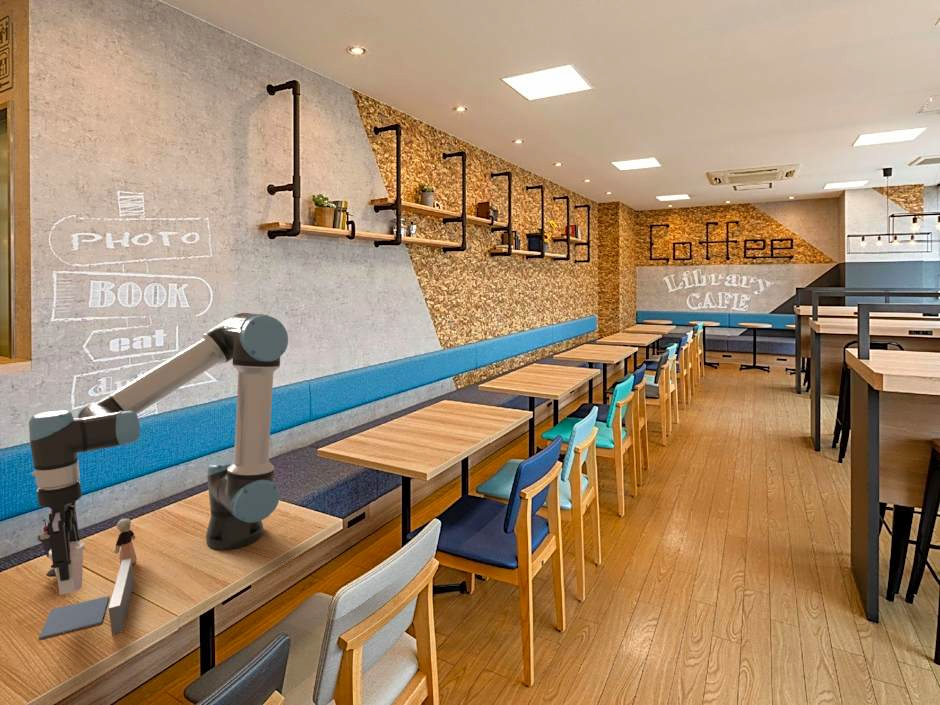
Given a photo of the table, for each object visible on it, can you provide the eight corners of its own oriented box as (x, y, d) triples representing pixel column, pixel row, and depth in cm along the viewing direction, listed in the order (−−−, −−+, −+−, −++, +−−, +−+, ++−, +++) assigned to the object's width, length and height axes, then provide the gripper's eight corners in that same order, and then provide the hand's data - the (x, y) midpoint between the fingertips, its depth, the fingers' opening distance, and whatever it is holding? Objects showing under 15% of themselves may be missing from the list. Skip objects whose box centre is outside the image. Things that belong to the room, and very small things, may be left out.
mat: (109, 597, 128) (108, 595, 128) (101, 623, 118) (101, 621, 118) (51, 610, 123) (51, 609, 123) (38, 639, 114) (38, 637, 114)
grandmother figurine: (131, 571, 140) (125, 524, 138) (114, 573, 139) (108, 526, 137) (142, 556, 147) (137, 511, 145) (126, 558, 146) (121, 513, 145)
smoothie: (70, 598, 116) (62, 536, 115) (45, 596, 118) (37, 534, 116) (96, 582, 122) (89, 523, 121) (72, 580, 124) (65, 521, 122)
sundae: (38, 580, 136) (30, 523, 134) (46, 567, 142) (39, 513, 140) (70, 574, 139) (63, 518, 137) (77, 562, 145) (70, 508, 143)
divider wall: (133, 581, 135) (131, 558, 134) (123, 631, 116) (119, 605, 115) (124, 583, 134) (121, 560, 133) (111, 634, 115) (108, 608, 114)
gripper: (47, 473, 123) (59, 568, 127) (24, 503, 107) (38, 612, 110) (87, 467, 127) (98, 560, 130) (70, 495, 110) (83, 602, 113)
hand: (71, 584), depth 120 cm, fingers closed on smoothie, 6 cm apart
